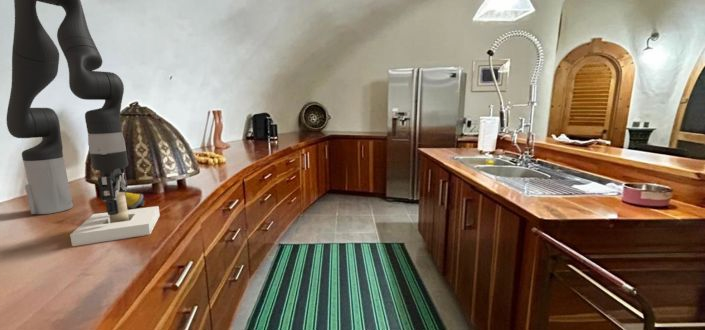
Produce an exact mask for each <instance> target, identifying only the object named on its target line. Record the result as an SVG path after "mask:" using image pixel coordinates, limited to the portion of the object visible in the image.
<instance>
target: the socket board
mask: <svg viewBox="0 0 705 330" xmlns="http://www.w3.org/2000/svg"><path fill="white" fill-rule="evenodd" d="M128 216H129V221H123V222H115V223H111V220H110V215H108V213H107V212H100V213H93V214H92V215H90V217H89V218H87V219H86V220H85V221H84V222H83V223H82V224H81V225H80V226H78V227H77V228H76V229H75V230H73V232H71V233H70V234H69V237H70V241H71V246H72V247H79V246H85V245H92V244H97V243H102V242H111V241H117V240H123V239H130V238H135V237H142V236H143V237H144V236H149V235H151V234H152V232H153V229H154V228H155V226H156V225H157V222H158V220H159V218H160V217H161V214H160V208H159V205H157V206H148V207H139V208H134V209H131V208H130V209H128Z"/></svg>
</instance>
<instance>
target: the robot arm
mask: <svg viewBox="0 0 705 330" xmlns="http://www.w3.org/2000/svg"><path fill="white" fill-rule="evenodd" d="M37 2H40V3H45V4H49V5H52V6H56V7H61V8H62V9H63V10H64V12H65V16H64V18H63V20H62V21H61V23H60V24H59V27H58V28H57V31H56V37H57V42H58V45H59V47H60V49H61V51H62V53H63V55H64V58H65V60H66V64H67V69H68V84H69V85H68V86H69V89H70V91H71V93H72V94H74V96H76V97H77V98H79V99H80V100H81V99H82V100H86V101H88V100H90V101H91V100H92V101H104V103H103V105H102V106H101V107H99V108H96V109H91V110H88V111H86V112H85V113H84V120H85V124H86V131H87V132H86V133H87V144H88V150H89V156H90V161H91V162H90V163H91V166H92V170H94V171H102V176H99V177H97V184H98V189H99V190H98V191H99V196H100V201H102V202H105V205H106V206H105V207H106V211H107V212H106V213H108V215H115V214H118V213H119V210H118V204H117V193H118V192H125V197H126V191H127V188H128V181H127V176H126V169H125V168H127V167H128V166H129V159H128V155H127V153H128V152H127V148H126V141H125V138H124V135H123V128H122V123H121V122H122V121H121V112H122V111H121V109H122V102H123V98H124V93H125V87H124V86H125V85H124V82H123V80H122V79H121V77H120V76H119V75H117V73H114V72H111V71H101V70H99V69H100V68H101V67H102V65H103V58H102V56H101V54H100V51H99V49H98V47H97V46H96V43H95V41H94V38H93V37H92V35H91V32H90V30H89V27H88V24H87V20H86V15H85V12H84V8H83V5H82V1H81V0H13V3H14V5H13V7H14V26H13V27H14V28H13V29H14V30H13V39H12V40H13V42H12V51H11V54H12V55H11V87H10V93H9V95H10V96H9V99H8V106H7V112H6V127H7V131H8V132H9V134H10V135H11V136H12V137H13V138H16V139H33V138H35V139H37V138H42V139H41V141H40V142H39V143H38V144H37V145H34V146H32V147H30V148H28V149H24V150H23V151H22V152H21V158H22V161H23V166H24V171H25V175H26V180H27V184H25V186H24V188H25V193H26V196H27V201H28V205H29V210H30V215H47V214H54V213H55V214H56V213H59V212H64V211H67V210H70V209H72V208H73V207H74V206H73V200H72V195H71V189H70V184H69V179H68V174H67V169H66V163H65V158H64V153H63V141H62V133H61V126H60V120H59V117H58V114H57V113H56V111H55V110H54V109H52V108H50V107H31V106H32V104H33V102H34V100H35V98H36V97H37V96H38V95H39V94H40V93H41V92H42V91H43V90H44V89H46V88H47V87H48V86H49V85H50V84H51V83H52V82H53V81H54V80H55V79H56V77H57V75H58V72H59V64H60V52H59V49H58V47H57V45H56V44H55V41H54V40H53V39H52V37H50V35H49V34H48V32H47V31H46V29H45V27H44V26H43V24H42V23H41V21H40V19H39V16H38V13H37ZM108 194H110V195H108ZM126 203H127V199H126Z"/></svg>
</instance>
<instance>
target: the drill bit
mask: <svg viewBox="0 0 705 330" xmlns="http://www.w3.org/2000/svg"><path fill="white" fill-rule="evenodd" d="M125 192H126V191H125ZM126 199H127V208H129V209H130V210H131V209H137V207H143V206H144V205H145V203H146V200H144V194H142V193H139V192H138V193H133V192H126ZM144 207H145V206H144Z"/></svg>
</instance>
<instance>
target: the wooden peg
mask: <svg viewBox="0 0 705 330" xmlns="http://www.w3.org/2000/svg"><path fill="white" fill-rule="evenodd" d="M125 192H126V191H124V192H118V193H117V204H118V210H119V213H118V214H115V215H110V220H111V223H115V222H123V221H129V216H128V210H129V209H128V204H127V203H126V197H125ZM108 195H110V193H108Z"/></svg>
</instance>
